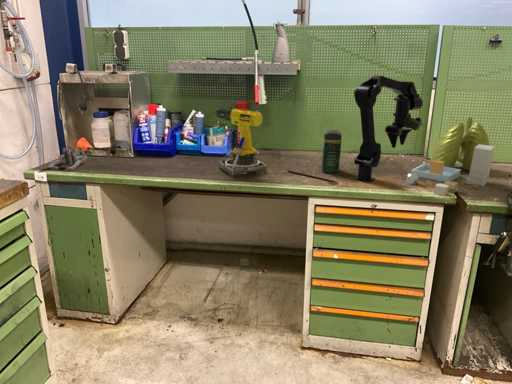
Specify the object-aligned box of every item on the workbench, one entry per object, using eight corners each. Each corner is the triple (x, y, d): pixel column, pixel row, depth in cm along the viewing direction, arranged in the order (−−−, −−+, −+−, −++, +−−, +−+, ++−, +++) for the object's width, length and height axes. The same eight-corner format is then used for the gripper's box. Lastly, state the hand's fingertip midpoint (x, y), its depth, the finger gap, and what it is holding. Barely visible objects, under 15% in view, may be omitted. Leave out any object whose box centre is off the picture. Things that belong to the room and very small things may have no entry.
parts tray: (448, 183, 175) (449, 176, 174) (410, 176, 184) (411, 169, 183) (459, 176, 186) (460, 169, 185) (423, 169, 196) (424, 163, 195)
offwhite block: (444, 196, 159) (445, 187, 158) (433, 194, 162) (434, 185, 160) (447, 194, 162) (449, 185, 161) (437, 191, 164) (438, 183, 163)
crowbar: (340, 181, 174) (334, 183, 170) (340, 183, 174) (334, 186, 171) (286, 168, 191) (280, 170, 188) (286, 171, 192) (280, 173, 188)
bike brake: (63, 159, 202) (39, 177, 184) (61, 146, 199) (35, 162, 181) (90, 161, 201) (68, 179, 183) (88, 148, 197) (65, 164, 180)
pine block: (453, 193, 162) (454, 185, 161) (442, 191, 165) (444, 182, 164) (456, 191, 165) (458, 182, 164) (446, 189, 168) (447, 180, 167)
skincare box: (472, 179, 181) (478, 143, 177) (489, 182, 177) (496, 146, 173) (467, 183, 175) (473, 146, 170) (484, 186, 171) (491, 149, 166)
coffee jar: (338, 174, 186) (342, 132, 181) (320, 173, 188) (323, 131, 182) (339, 168, 195) (342, 129, 190) (322, 167, 197) (324, 128, 191)
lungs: (480, 166, 203) (489, 116, 196) (491, 175, 189) (501, 121, 181) (426, 163, 208) (433, 114, 200) (432, 171, 193) (440, 118, 186)
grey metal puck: (415, 185, 171) (416, 176, 170) (404, 183, 174) (405, 174, 173) (419, 183, 175) (420, 174, 173) (408, 181, 177) (410, 172, 176)
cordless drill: (251, 162, 204) (250, 104, 195) (268, 171, 188) (269, 109, 179) (215, 166, 197) (213, 107, 188) (230, 177, 180) (229, 112, 172)
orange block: (439, 176, 182) (441, 163, 180) (428, 174, 185) (430, 161, 183) (442, 174, 185) (444, 161, 183) (432, 172, 188) (434, 159, 186)
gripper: (412, 114, 170) (407, 152, 175) (428, 110, 184) (423, 145, 189) (386, 112, 177) (382, 148, 182) (403, 108, 191) (399, 142, 196)
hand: (397, 146), depth 187 cm, fingers open, 9 cm apart
